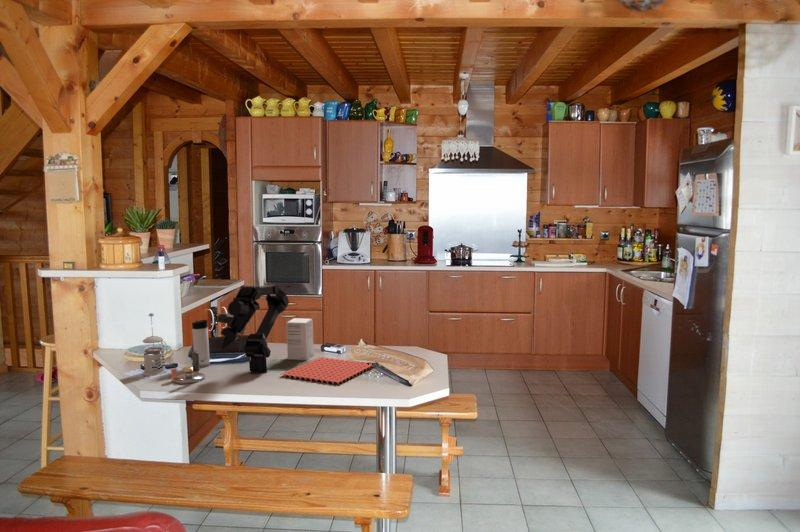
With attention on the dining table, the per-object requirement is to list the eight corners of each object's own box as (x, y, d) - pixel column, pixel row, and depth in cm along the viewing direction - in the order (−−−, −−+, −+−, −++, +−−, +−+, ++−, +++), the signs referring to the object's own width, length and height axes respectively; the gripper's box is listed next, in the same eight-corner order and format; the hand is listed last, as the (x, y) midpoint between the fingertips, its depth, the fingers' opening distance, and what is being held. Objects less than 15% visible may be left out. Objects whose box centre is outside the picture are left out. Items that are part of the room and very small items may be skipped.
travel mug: (206, 367, 257) (203, 321, 255) (191, 367, 259) (188, 321, 256) (213, 363, 263) (210, 318, 261) (199, 363, 265) (196, 318, 263)
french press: (137, 374, 250) (132, 314, 247) (157, 366, 261) (154, 309, 258) (155, 376, 246) (151, 316, 244) (175, 368, 257) (172, 310, 254)
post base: (204, 373, 249) (203, 361, 248) (205, 381, 237) (205, 369, 237) (171, 377, 244) (171, 365, 244) (171, 385, 233) (171, 373, 233)
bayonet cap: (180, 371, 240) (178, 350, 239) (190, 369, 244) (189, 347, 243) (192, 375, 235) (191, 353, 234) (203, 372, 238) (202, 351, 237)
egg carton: (279, 378, 242) (279, 373, 241) (320, 361, 266) (320, 356, 266) (338, 387, 229) (338, 382, 228) (375, 368, 253) (375, 363, 253)
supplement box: (295, 354, 277) (293, 317, 275) (314, 354, 275) (312, 318, 273) (287, 359, 268) (285, 322, 266) (307, 360, 266) (305, 322, 264)
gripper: (232, 301, 250) (211, 332, 251) (220, 308, 232) (198, 341, 232) (255, 316, 251) (234, 347, 252) (245, 324, 232) (223, 357, 233)
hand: (222, 347), depth 242 cm, fingers closed
